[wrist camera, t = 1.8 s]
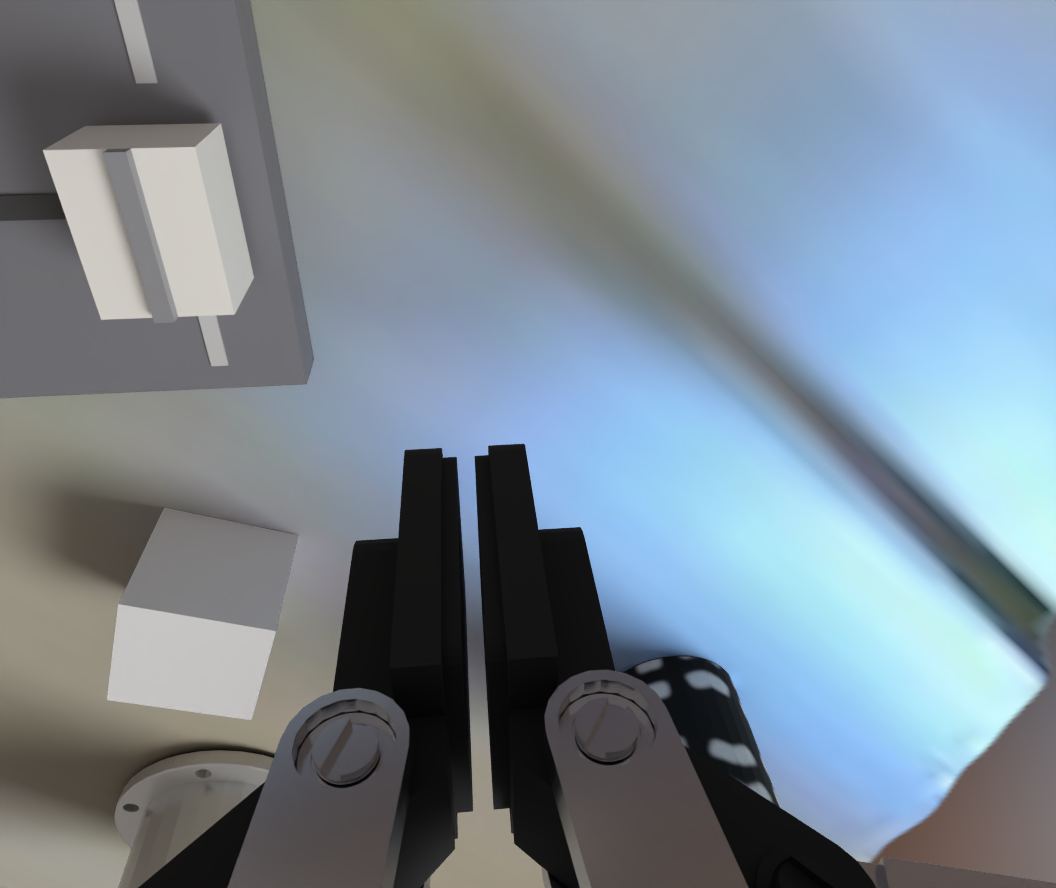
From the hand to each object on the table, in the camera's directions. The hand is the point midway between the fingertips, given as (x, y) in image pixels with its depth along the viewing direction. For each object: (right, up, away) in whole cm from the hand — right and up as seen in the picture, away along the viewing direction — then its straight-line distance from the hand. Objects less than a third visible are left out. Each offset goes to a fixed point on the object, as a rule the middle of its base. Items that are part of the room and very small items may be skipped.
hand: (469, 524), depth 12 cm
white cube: (-14, -5, +25) cm, 29 cm away
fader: (-11, +9, +13) cm, 19 cm away
